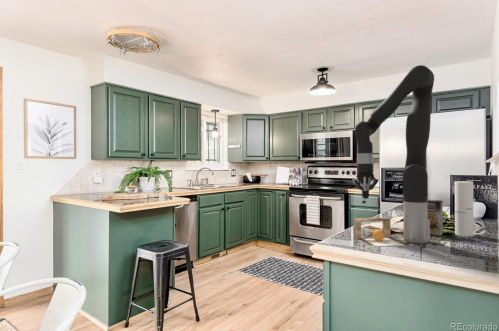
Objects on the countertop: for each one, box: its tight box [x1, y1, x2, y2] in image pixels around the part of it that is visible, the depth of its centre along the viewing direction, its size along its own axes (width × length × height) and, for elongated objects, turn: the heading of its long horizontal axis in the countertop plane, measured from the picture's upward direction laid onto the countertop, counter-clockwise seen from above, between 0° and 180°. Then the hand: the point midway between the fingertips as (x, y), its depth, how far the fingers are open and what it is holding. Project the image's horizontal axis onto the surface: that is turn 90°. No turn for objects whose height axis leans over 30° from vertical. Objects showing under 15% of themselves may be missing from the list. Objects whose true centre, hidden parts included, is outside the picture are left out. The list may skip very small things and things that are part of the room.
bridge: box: [353, 217, 391, 240], centre depth 138 cm, size 3×16×9 cm, turn 96°
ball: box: [371, 229, 386, 241], centre depth 132 cm, size 5×5×5 cm
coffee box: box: [427, 199, 444, 236], centre depth 145 cm, size 9×6×16 cm
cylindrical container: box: [454, 180, 475, 238], centre depth 142 cm, size 7×7×25 cm
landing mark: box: [362, 237, 405, 247], centre depth 129 cm, size 12×12×1 cm
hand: (365, 198), depth 146 cm, fingers closed
